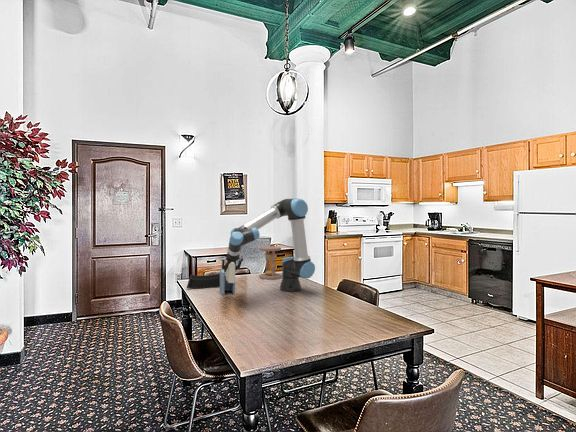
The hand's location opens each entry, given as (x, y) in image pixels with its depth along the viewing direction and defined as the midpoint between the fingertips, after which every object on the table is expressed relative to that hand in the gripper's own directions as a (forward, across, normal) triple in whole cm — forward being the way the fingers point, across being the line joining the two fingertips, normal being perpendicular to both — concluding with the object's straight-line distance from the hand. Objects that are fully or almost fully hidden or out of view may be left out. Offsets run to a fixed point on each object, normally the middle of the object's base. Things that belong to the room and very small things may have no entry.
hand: (229, 273), depth 239 cm
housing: (+18, 0, -3) cm, 18 cm away
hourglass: (+46, +42, +26) cm, 68 cm away
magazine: (+31, -10, +10) cm, 34 cm away
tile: (0, 0, -5) cm, 5 cm away
